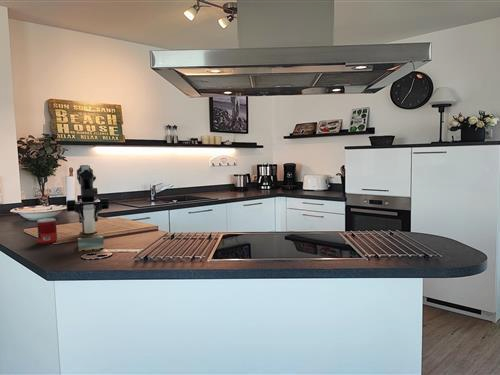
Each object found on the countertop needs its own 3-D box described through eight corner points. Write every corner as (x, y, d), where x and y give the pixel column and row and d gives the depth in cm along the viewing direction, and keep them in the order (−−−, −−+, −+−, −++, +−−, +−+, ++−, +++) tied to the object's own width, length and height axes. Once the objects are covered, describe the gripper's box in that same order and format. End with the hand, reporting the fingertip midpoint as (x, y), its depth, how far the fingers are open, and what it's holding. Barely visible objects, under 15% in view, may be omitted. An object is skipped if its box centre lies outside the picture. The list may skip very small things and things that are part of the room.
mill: (81, 232, 175) (80, 205, 173) (88, 230, 179) (87, 204, 178) (90, 233, 173) (89, 205, 172) (97, 231, 178) (96, 204, 177)
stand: (78, 245, 174) (77, 234, 174) (102, 243, 179) (101, 232, 178) (78, 251, 165) (78, 239, 164) (103, 248, 169) (103, 237, 168)
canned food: (60, 240, 183) (59, 218, 182) (45, 244, 176) (44, 221, 175) (50, 239, 186) (48, 217, 185) (35, 243, 179) (33, 220, 178)
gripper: (65, 183, 173) (66, 210, 165) (107, 181, 181) (110, 207, 173) (66, 198, 181) (67, 224, 173) (107, 195, 189) (110, 221, 180)
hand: (89, 218), depth 174 cm, fingers closed on mill, 5 cm apart
